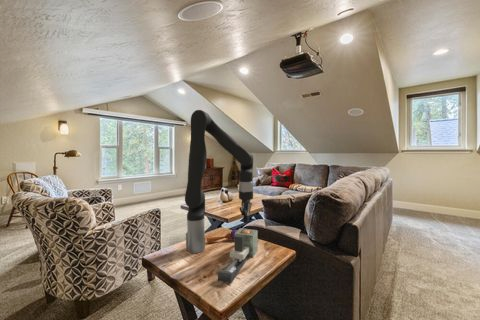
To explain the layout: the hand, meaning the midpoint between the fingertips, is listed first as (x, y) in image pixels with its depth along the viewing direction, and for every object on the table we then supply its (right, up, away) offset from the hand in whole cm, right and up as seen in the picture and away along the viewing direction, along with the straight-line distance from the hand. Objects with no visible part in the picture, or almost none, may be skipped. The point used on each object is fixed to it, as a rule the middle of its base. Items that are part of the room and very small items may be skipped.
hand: (245, 222), depth 114 cm
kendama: (-13, -16, +16) cm, 26 cm away
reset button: (0, -9, 0) cm, 9 cm away
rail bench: (-4, -17, -10) cm, 20 cm away
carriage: (-3, -15, -9) cm, 17 cm away
